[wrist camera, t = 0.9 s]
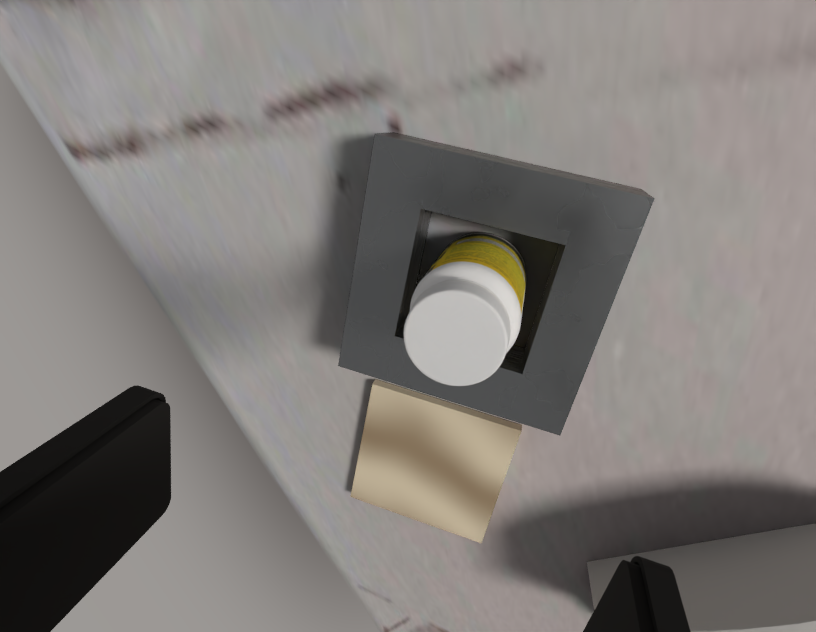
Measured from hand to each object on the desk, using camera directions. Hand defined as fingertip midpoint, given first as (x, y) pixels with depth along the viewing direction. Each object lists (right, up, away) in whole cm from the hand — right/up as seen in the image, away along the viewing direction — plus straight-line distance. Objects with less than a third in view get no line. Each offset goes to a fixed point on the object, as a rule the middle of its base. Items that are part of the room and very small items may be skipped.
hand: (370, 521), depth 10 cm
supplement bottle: (+5, +6, +16) cm, 18 cm away
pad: (+2, -5, +21) cm, 22 cm away
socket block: (+5, +6, +16) cm, 18 cm away
